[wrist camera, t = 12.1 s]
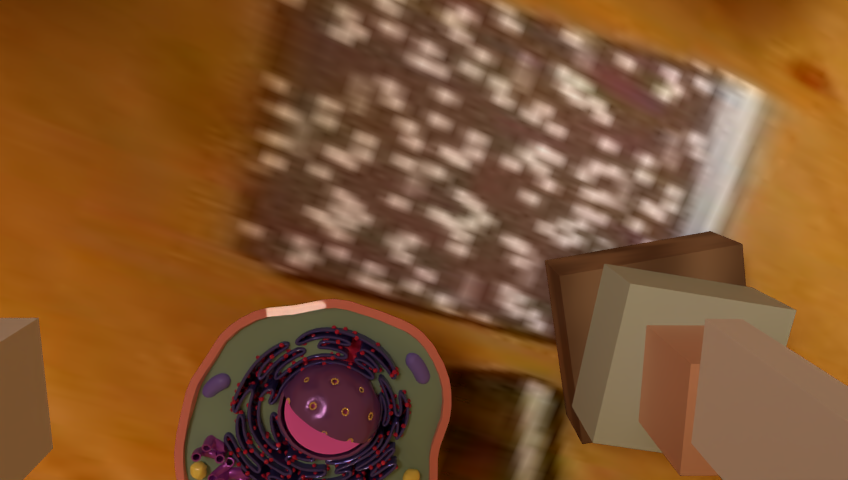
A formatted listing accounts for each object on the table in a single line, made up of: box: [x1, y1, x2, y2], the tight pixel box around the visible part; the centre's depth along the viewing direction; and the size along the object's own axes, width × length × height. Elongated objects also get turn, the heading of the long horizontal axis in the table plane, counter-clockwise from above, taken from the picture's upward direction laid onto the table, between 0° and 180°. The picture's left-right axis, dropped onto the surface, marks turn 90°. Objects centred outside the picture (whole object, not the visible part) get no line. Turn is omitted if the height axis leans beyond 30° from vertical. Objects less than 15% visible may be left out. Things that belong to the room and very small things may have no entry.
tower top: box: [572, 264, 796, 453], centre depth 42 cm, size 10×10×5 cm
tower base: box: [545, 231, 746, 444], centre depth 47 cm, size 12×12×5 cm
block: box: [639, 325, 718, 476], centre depth 36 cm, size 6×6×6 cm
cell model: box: [174, 299, 451, 480], centre depth 43 cm, size 17×20×11 cm
